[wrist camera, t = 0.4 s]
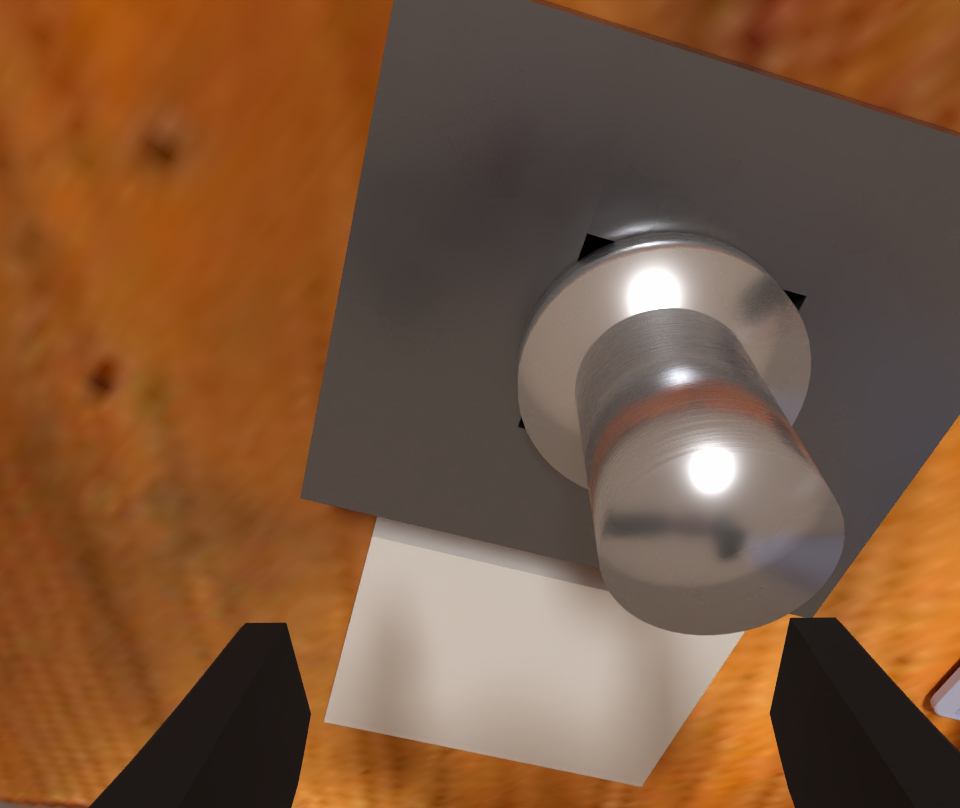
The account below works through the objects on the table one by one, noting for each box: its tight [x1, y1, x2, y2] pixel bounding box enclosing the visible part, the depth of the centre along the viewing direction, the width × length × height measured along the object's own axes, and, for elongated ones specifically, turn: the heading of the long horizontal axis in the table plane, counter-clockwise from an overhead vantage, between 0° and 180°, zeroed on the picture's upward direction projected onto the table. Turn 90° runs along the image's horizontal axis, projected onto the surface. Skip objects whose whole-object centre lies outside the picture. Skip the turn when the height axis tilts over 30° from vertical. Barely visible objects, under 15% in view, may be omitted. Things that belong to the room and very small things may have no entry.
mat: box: [324, 516, 745, 787], centre depth 25 cm, size 12×9×1 cm
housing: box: [301, 0, 960, 618], centre depth 17 cm, size 14×12×3 cm
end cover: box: [517, 232, 845, 635], centre depth 15 cm, size 6×6×9 cm
